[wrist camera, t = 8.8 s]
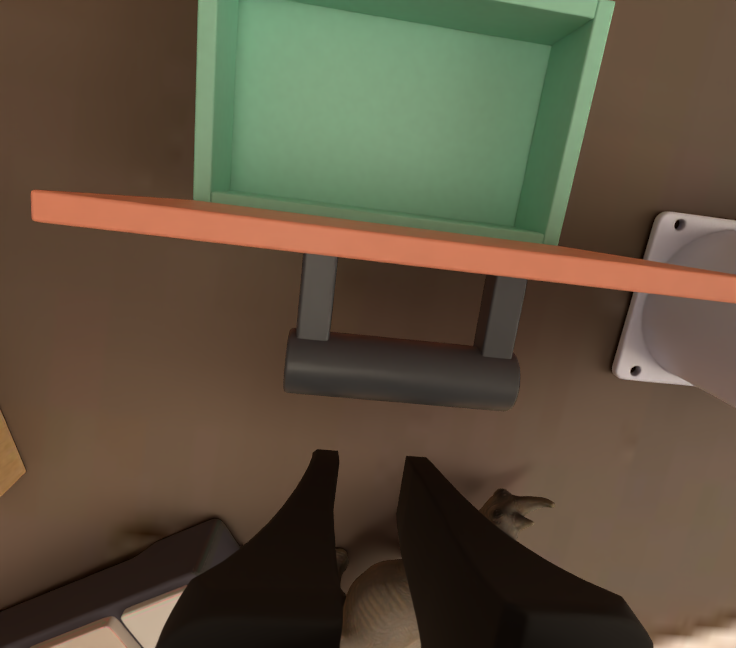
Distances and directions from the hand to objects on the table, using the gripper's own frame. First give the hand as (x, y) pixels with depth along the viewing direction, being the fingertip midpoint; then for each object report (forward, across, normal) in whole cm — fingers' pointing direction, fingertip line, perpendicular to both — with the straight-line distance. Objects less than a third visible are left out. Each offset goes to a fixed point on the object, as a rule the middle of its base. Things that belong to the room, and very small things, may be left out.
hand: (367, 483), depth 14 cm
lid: (0, 0, -7) cm, 7 cm away
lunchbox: (+9, 0, -11) cm, 14 cm away
